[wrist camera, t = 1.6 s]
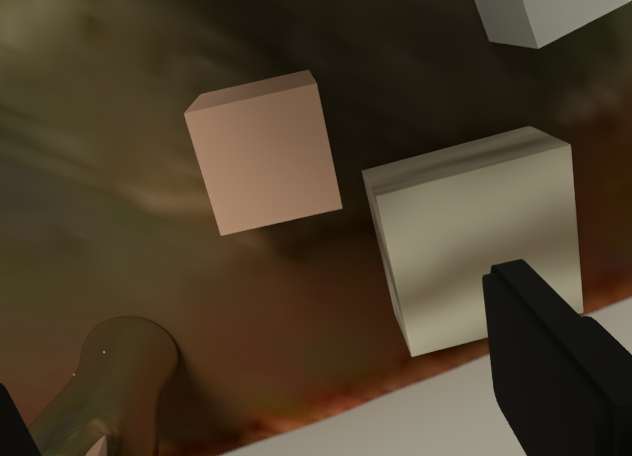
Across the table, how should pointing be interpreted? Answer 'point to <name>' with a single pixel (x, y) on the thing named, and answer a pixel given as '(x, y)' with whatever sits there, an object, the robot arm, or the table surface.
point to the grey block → (539, 19)
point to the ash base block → (472, 229)
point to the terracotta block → (264, 152)
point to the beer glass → (111, 394)
